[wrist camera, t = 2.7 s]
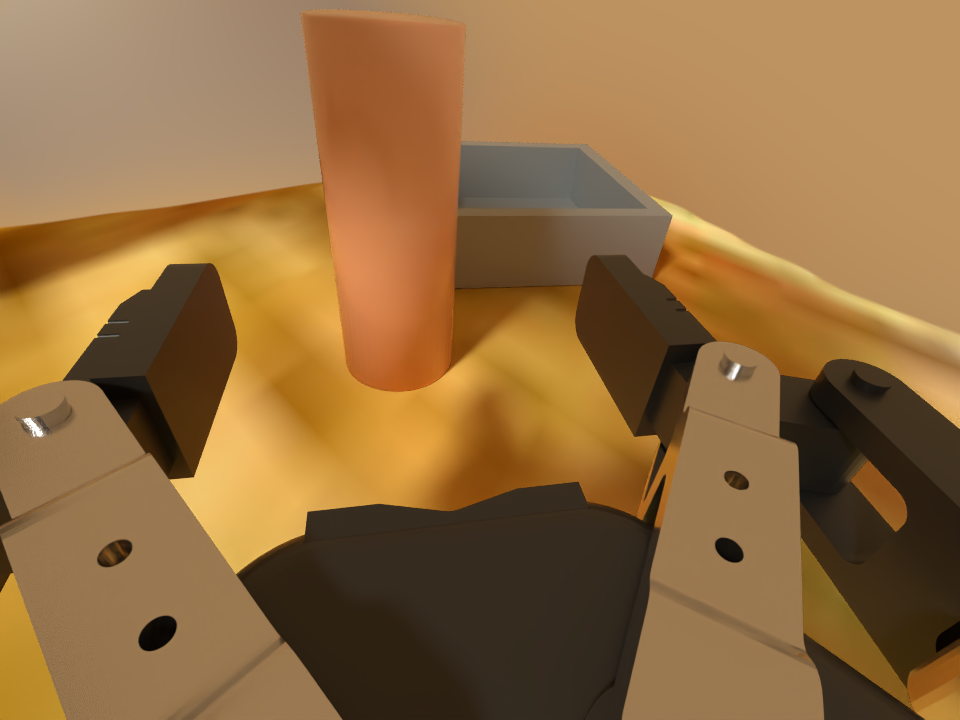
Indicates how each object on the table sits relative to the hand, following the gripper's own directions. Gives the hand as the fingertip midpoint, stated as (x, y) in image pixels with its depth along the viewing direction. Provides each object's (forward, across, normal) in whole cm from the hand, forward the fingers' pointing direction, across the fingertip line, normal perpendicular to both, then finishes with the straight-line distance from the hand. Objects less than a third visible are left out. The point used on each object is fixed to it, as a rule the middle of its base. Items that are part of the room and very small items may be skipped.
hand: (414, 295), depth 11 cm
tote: (+26, -10, +10) cm, 30 cm away
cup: (+12, 0, +11) cm, 16 cm away
